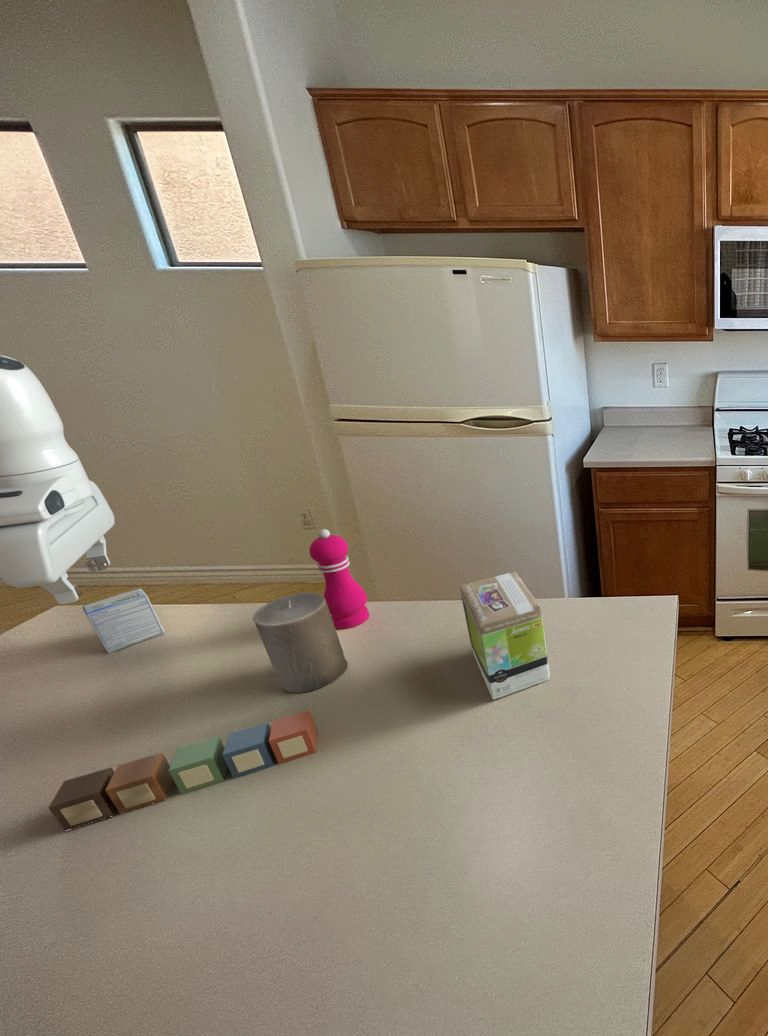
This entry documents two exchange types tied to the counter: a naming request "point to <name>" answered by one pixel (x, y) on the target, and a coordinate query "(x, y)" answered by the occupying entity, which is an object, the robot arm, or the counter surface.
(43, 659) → the counter surface
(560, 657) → the counter surface
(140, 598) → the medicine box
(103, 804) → the walnut letter block
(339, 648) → the pillar candle
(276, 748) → the terracotta letter block
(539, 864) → the counter surface
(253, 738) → the slate blue letter block
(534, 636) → the tea box
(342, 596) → the pepper mill
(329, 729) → the counter surface
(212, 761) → the sage green letter block
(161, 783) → the teak letter block
